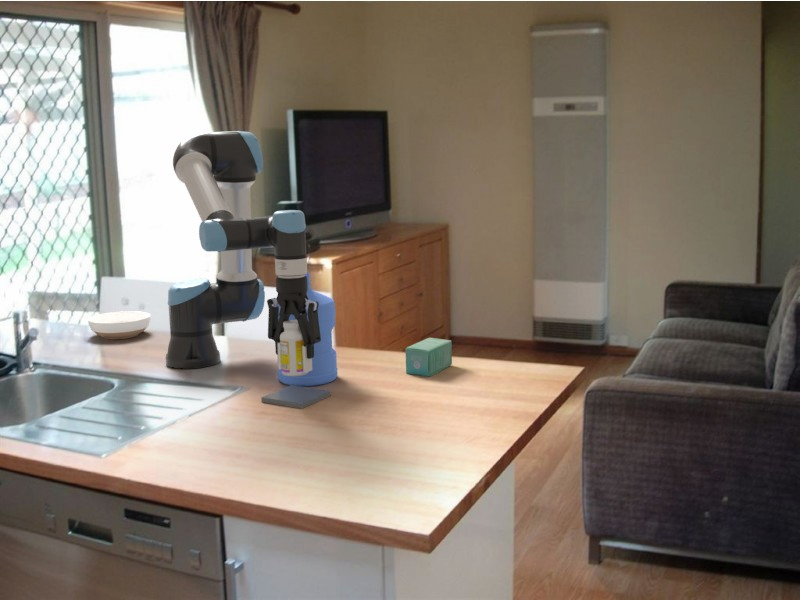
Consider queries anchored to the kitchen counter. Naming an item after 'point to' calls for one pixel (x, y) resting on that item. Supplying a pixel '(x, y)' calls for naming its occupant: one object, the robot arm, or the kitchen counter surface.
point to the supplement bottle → (291, 349)
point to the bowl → (119, 324)
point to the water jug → (318, 345)
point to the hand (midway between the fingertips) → (295, 369)
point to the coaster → (296, 396)
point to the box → (428, 356)
